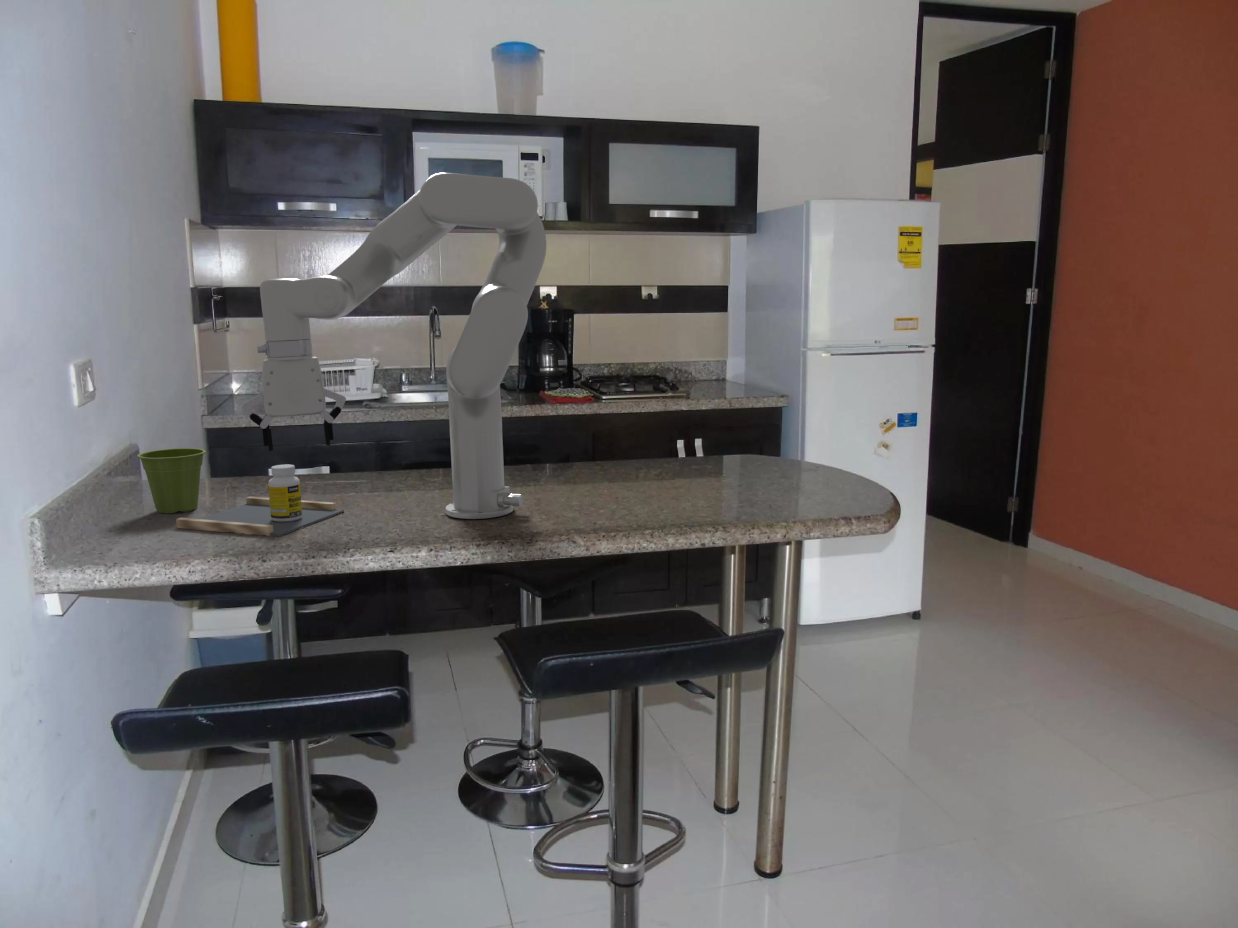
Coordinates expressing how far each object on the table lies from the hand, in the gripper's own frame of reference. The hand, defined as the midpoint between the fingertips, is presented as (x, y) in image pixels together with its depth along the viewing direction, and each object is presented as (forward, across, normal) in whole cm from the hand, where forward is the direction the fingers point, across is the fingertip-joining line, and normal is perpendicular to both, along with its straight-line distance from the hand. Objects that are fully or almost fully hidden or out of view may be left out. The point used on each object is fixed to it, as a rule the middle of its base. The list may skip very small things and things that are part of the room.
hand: (299, 447), depth 164 cm
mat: (+14, -7, +6) cm, 17 cm away
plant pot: (+14, -23, +22) cm, 34 cm away
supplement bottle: (+14, -3, +2) cm, 14 cm away
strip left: (+14, -14, 0) cm, 19 cm away
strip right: (+14, -2, +13) cm, 19 cm away
